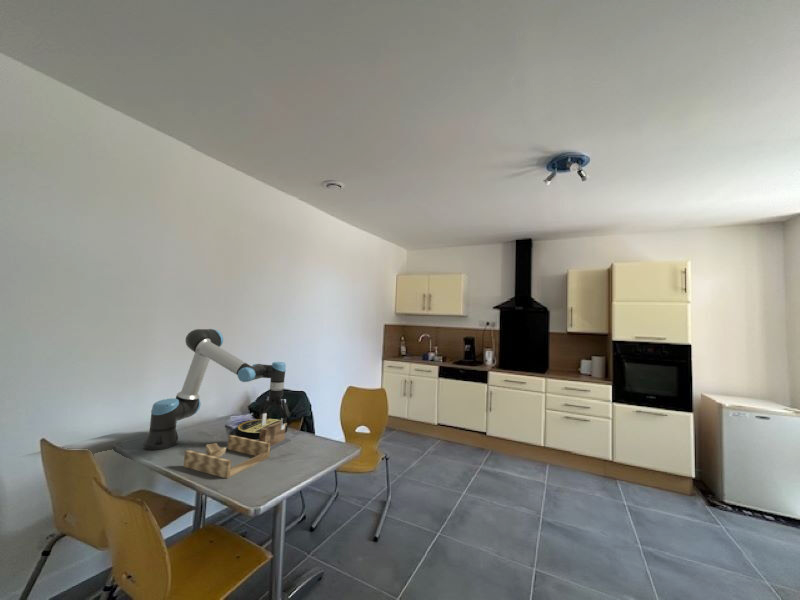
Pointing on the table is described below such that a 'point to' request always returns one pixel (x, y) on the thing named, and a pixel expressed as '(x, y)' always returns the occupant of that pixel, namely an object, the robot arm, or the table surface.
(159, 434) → the robot arm
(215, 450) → the slab short
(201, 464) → the rack
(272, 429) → the brown wooden block
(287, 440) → the mat
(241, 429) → the sign
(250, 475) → the table surface
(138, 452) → the table surface
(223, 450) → the slab long
